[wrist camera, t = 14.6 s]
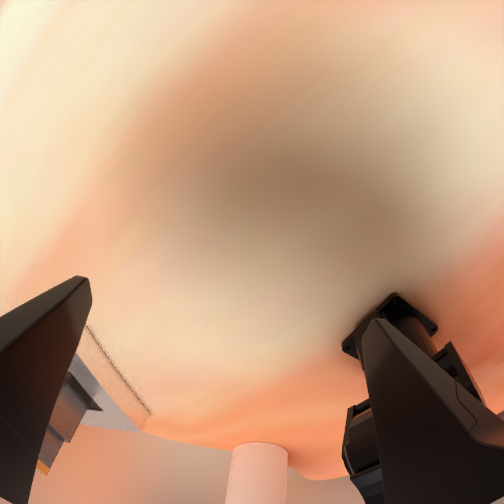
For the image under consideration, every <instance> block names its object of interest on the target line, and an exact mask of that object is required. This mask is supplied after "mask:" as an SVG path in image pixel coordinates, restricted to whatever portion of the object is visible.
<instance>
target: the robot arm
mask: <svg viewBox="0 0 504 504" xmlns="http://www.w3.org/2000/svg"><path fill="white" fill-rule="evenodd" d="M394 299H397V300H396V301H393V300H394ZM91 306H92V294H91V288H90V282H89V279H88V278H86V277H82V276H74V277H72V278H70V279H69V280H67V281H65V282H63V283H61V284H59V285H57V286H55V287H53V288H51V289H50V290H48V291H46V292H44V293H42V294H40V295H39V296H37V297H35V298H33V299H31V300H29V301H28V302H26V303H24V304H22V305H20V306H19V307H17V308H15V309H13V310H12V311H10V312H8V313H6V314H5V315H3V316H1V317H0V497H1V498H3V499H5V500H7V501H9V502H10V503H12V504H28V500H29V495H30V491H31V486H32V482H33V477H34V473H35V469H36V465H37V462H38V458H39V456H38V455H39V454H40V450H41V447H42V443H43V440H44V437H45V433H46V430H47V427H48V424H49V421H50V418H51V415H52V412H53V409H54V406H55V403H56V401H57V398H58V395H59V392H60V390H61V387H62V385H63V382H64V379H65V377H66V374H67V372H68V369H69V367H70V364H71V362H72V360H73V357H74V355H75V352H76V350H77V348H78V345H79V342H80V339H81V336H82V333H83V330H84V327H85V324H86V321H87V318H88V315H89V312H90V309H91ZM432 328H433V329H432ZM437 330H438V326H437V324H436V323H435V322H434V321H433V320H431V319H430V318H429V317H428V316H426V315H425V314H424V313H422V312H421V311H420V310H419V309H417V308H416V307H415V306H414V305H412V304H411V303H410V302H408V301H407V300H406V299H405V298H403V297H402V296H401V295H399V294H398V293H393V294H391V295H390V296H389V297H388V298H387V299H386V300H385V301H384V303H383V304H382V305H381V306H380V307H379V308H378V309H377V310H376V311H375V312H374V313H373V314H372V315H371V316H370V317H369V318H368V319H367V320H366V321H365V322H364V323H362V324H361V325H360V326H359V327H358V328H357V329H356V330H355V331H354V332H353V333H352V334H351V335H350V336H349V337H348V338H347V339H346V340H345V341H344V342H343V343H342V345H341V347H342V351H343V352H345V353H347V354H349V355H351V356H353V357H355V358H356V359H358V360H360V363H361V367H362V370H363V371H364V374H365V378H366V383H367V388H368V393H369V398H368V399H367V400H365V401H363V402H361V403H360V404H358V405H354V406H352V407H350V408H348V412H347V419H346V426H345V433H344V439H343V445H342V459H343V461H344V464H345V467H346V469H347V471H348V473H349V475H350V480H351V481H352V482H353V484H354V485H355V486H356V487H357V488H358V490H359V492H360V493H361V495H362V497H363V499H364V501H365V504H504V421H503V420H502V419H501V418H500V417H498V416H497V415H496V414H495V413H493V412H492V411H491V410H489V409H488V408H487V406H486V403H485V401H484V398H483V396H482V394H481V391H480V389H479V387H478V385H477V383H476V382H475V380H474V378H473V376H472V374H471V372H470V370H469V369H468V367H467V365H466V364H465V362H464V361H463V359H462V358H461V356H460V354H459V353H458V351H457V350H456V348H455V347H454V345H453V344H452V342H451V341H450V342H448V343H447V344H446V345H445V347H444V348H443V349H441V350H440V351H439V352H438V351H437V349H436V347H435V345H434V343H433V342H432V340H431V337H432V336H433V335H434V334H435V333H436V332H437ZM346 346H349V347H346Z"/></svg>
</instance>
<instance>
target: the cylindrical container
mask: <svg viewBox="0 0 504 504" xmlns="http://www.w3.org/2000/svg"><path fill="white" fill-rule="evenodd" d="M287 465H288V453H287V451H286V450H285V449H284V448H283V447H281V446H278V445H275V444H271V443H264V442H250V443H244V444H241V445H238V446H236V447H235V448H234V450H233V455H232V461H231V468H230V474H229V481H228V487H227V493H226V499H225V504H286V493H287Z"/></svg>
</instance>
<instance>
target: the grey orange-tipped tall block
mask: <svg viewBox="0 0 504 504" xmlns="http://www.w3.org/2000/svg"><path fill="white" fill-rule="evenodd" d="M92 400H93V399H92V398H91V396H90V395H89V394H88V393H87V392H86V390H85V389H84V388H83V387H82V386H81V384H80V383H79V382H78V381H77V379H76V378H75V377H74V376H73V374H72V373H71V372H67V374H66V377H65V379H64V382H63V385H62V387H61V390H60V392H59V395H58V398H57V401H56V403H55V406H54V409H53V412H52V415H51V418H50V421H49V424H48V427H47V430H46V433H45V437H44V440H43V443H42V447H41V450H40V454H39V455H38V456H39V458H38V462H37V465H36V469H35V470H36V471H38V472H40V473H42V474H44V475H47V474H48V472H49V470H50V467H51V466H52V463H53V462H54V460H55V458H56V456H57V454H58V452H59V450H60V448H61V446H62V444H63V442H68V443H70V441H71V439H72V437H73V435H74V433H75V431H76V429H77V428H78V426H79V424H80V422H81V420H82V418H83V416H84V414H85V413H86V411H87V409H88V407H89V405H90V403H91V402H92Z"/></svg>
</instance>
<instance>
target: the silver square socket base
mask: <svg viewBox="0 0 504 504" xmlns="http://www.w3.org/2000/svg"><path fill="white" fill-rule="evenodd" d="M68 372H71V373H72V374H73V376H74V377H75V378H76V379H77V381H78V382H79V383H80V384H81V386H82V387H83V388H84V389H85V390H86V392H87V393H88V394H89V395H90V396H91V398H92V399H93V400H92V402H91V403H90V405H89V407H88V409H87V411H86V413H85V414H84V416H83V418H82V420H81V422H80V424H83V425H89V426H96V427H102V428H110V429H117V430H126V431H136V432H143V429H144V427H145V424H146V422H147V419H148V416H149V414H150V413H149V411H148V410H147V409H146V408H145V407H144V405H143V404H142V403H141V402H140V401H139V399H138V398H137V397H136V396H135V394H134V393H133V392H132V391H131V389H130V388H129V387H128V386H127V384H126V383H125V382H124V380H123V379H122V378H121V376H120V375H119V374H118V372H117V371H116V370H115V368H114V367H113V365H112V364H111V363H110V361H109V360H108V358H107V357H106V356H105V354H104V353H103V351H102V350H101V348H100V347H99V345H98V344H97V342H96V341H95V339H94V338H93V336H92V335H91V333H90V331H89V330H88V328H87V327H86V325H85V327H84V330H83V333H82V336H81V339H80V342H79V345H78V348H77V350H76V352H75V355H74V357H73V360H72V362H71V364H70V367H69V369H68Z"/></svg>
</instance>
